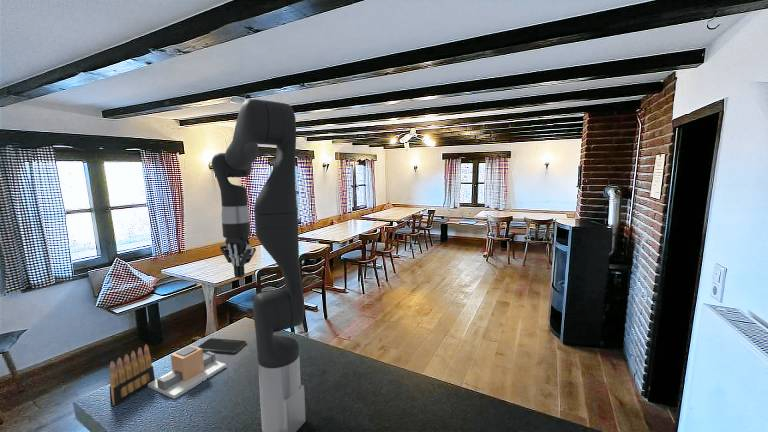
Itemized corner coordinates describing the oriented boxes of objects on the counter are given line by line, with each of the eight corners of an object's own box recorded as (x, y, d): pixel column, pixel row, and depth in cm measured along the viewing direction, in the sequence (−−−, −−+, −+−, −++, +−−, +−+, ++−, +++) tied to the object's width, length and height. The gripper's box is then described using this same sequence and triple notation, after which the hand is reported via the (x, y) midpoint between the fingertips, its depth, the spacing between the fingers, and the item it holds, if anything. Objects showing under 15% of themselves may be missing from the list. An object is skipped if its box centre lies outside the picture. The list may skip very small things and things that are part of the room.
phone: (234, 352, 108) (194, 349, 110) (234, 355, 108) (194, 352, 110) (247, 340, 115) (210, 337, 118) (247, 343, 115) (210, 340, 118)
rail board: (226, 367, 100) (225, 356, 100) (174, 398, 86) (173, 386, 86) (200, 358, 105) (199, 348, 105) (148, 387, 91) (146, 375, 91)
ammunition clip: (115, 406, 83) (110, 363, 82) (110, 405, 84) (105, 362, 83) (155, 381, 94) (151, 343, 92) (150, 380, 94) (147, 342, 93)
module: (204, 370, 97) (202, 347, 96) (184, 381, 92) (182, 357, 91) (192, 366, 99) (190, 343, 99) (172, 377, 94) (170, 353, 93)
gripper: (262, 220, 96) (265, 276, 98) (231, 218, 102) (234, 271, 104) (241, 223, 89) (245, 283, 91) (209, 221, 95) (213, 277, 97)
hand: (239, 276), depth 98 cm, fingers closed
